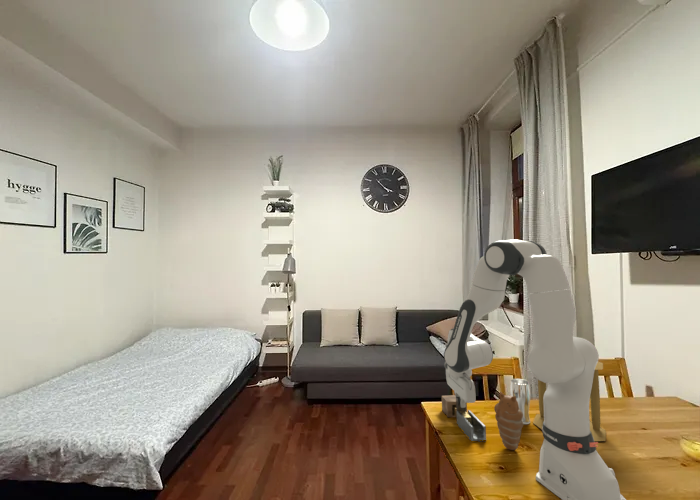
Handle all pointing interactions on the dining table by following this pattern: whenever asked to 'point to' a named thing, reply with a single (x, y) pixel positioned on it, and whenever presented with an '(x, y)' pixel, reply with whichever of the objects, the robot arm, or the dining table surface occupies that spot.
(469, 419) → the tan grey t-shaped block
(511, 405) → the cat ice cream
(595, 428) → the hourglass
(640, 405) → the dining table surface
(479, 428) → the grey track with slider
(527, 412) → the silver cup
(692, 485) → the dining table surface
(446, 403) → the socket
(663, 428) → the dining table surface
